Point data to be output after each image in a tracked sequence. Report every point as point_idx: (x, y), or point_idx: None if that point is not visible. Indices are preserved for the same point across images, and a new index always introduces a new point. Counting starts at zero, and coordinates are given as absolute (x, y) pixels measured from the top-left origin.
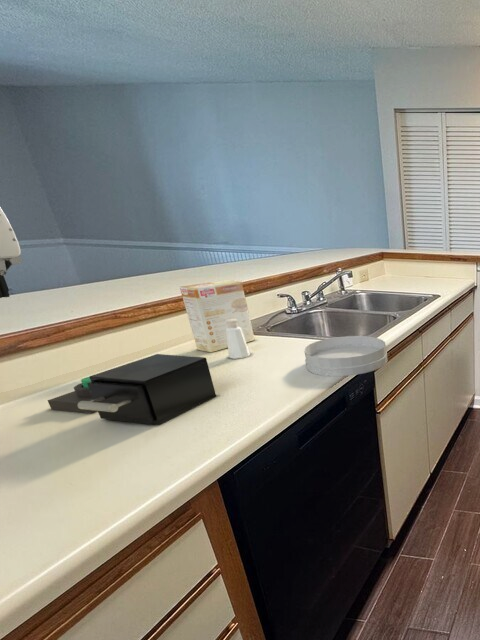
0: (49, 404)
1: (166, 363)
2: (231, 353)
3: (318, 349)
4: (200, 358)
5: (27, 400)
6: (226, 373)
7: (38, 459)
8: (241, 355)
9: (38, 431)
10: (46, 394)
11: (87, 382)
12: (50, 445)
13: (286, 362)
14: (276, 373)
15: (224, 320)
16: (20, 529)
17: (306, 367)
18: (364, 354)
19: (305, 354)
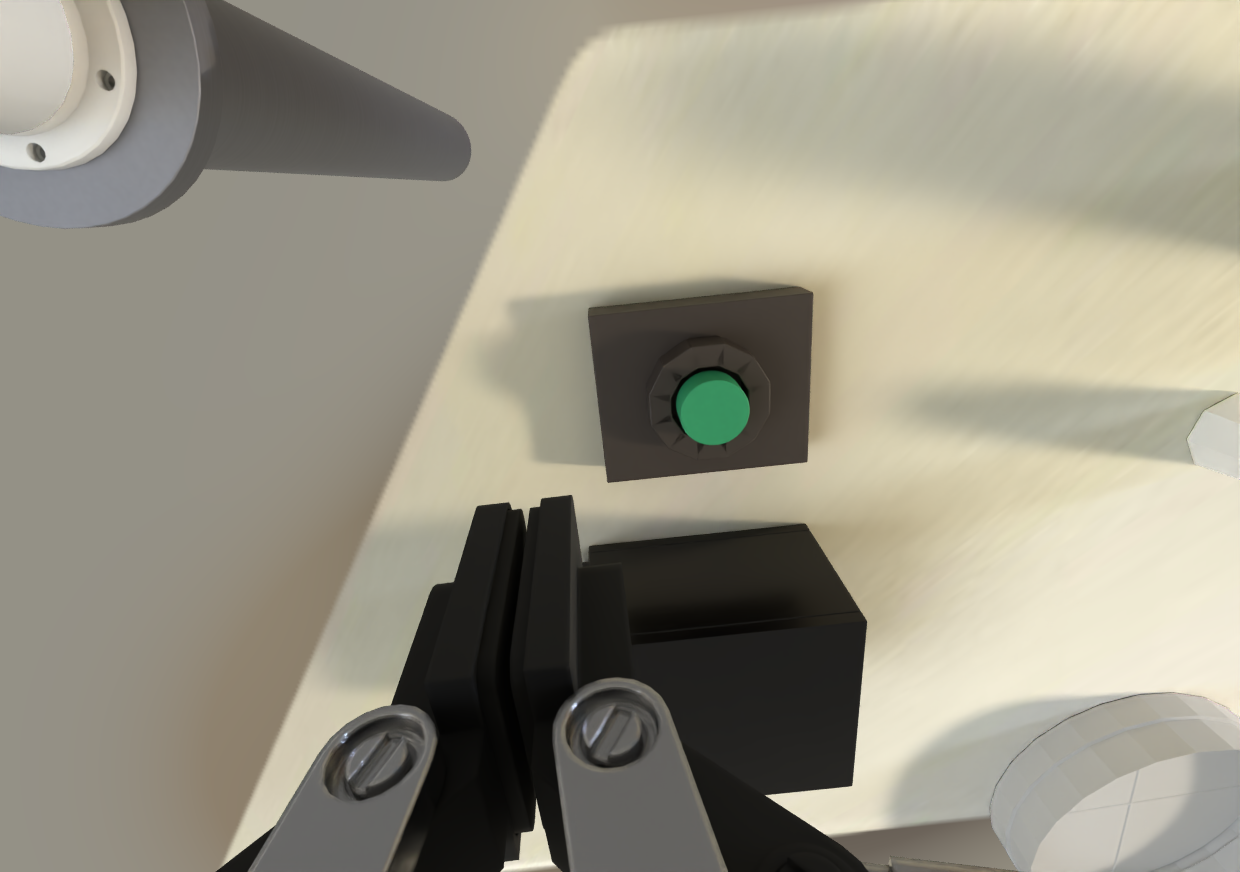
0: (588, 313)
1: (768, 737)
2: (1216, 437)
3: (1209, 722)
4: (839, 780)
5: (623, 91)
6: (1001, 544)
7: (387, 614)
8: (1205, 467)
9: (471, 455)
10: (693, 89)
11: (683, 427)
12: (437, 569)
13: (1127, 636)
14: (1008, 678)
15: None
16: (264, 804)
17: (1066, 720)
18: (1166, 823)
19: (1096, 774)
